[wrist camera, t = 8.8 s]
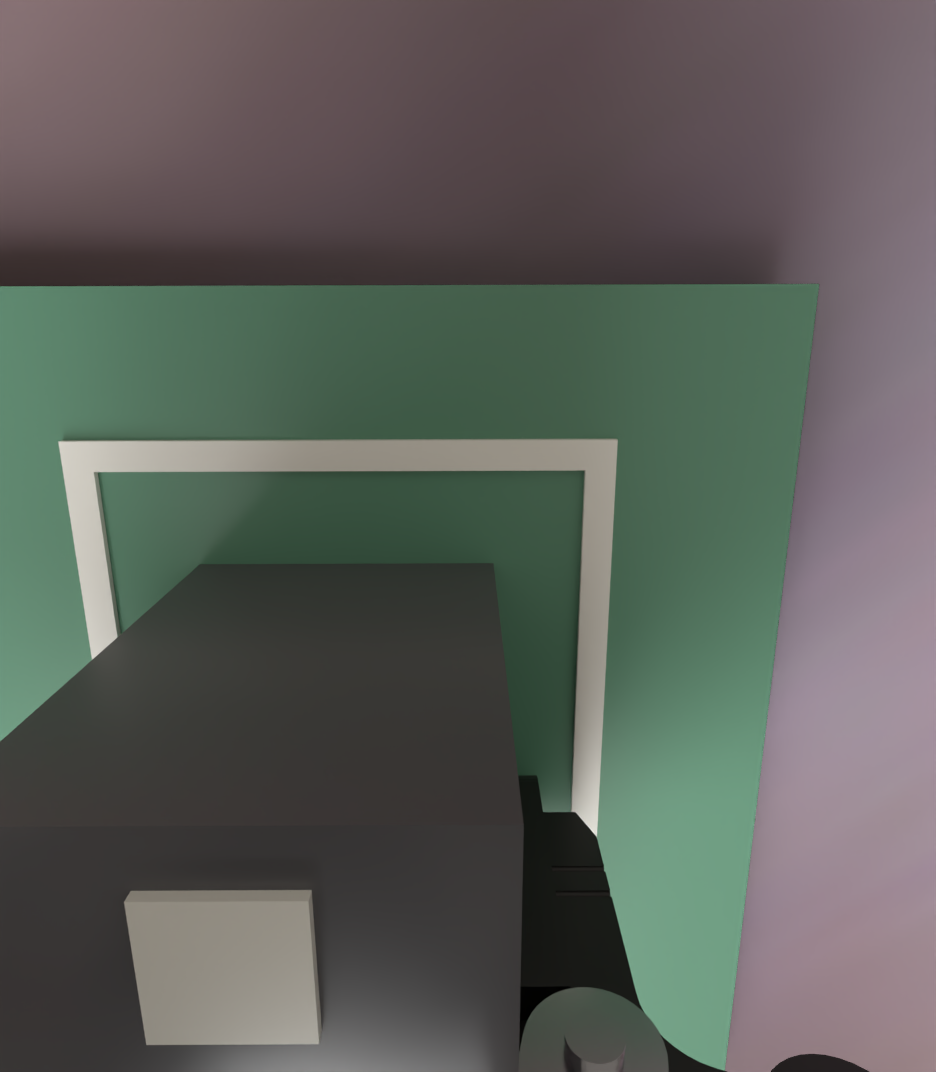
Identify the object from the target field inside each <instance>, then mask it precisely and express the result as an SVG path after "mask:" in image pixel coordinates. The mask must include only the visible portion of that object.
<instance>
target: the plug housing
mask: <svg viewBox="0 0 936 1072" xmlns="http://www.w3.org/2000/svg"><path fill="white" fill-rule="evenodd" d="M523 837H524V822H523V814H522V805H521V797H520V788H519V779H518V771H517V762H516V753H515V745H514V736H513V728H512V719H511V710H510V702H509V693H508V684H507V676H506V667H505V659H504V650H503V641H502V633H501V624H500V616H499V607H498V598H497V590H496V581H495V572H494V564H493V563H410V564H200V565H198V566H197V567H196V568H195V569H194V570H193V571H192V572H191V573H189V574H188V575H187V576H186V577H185V578H184V579H183V580H182V581H180V582H179V583H178V584H177V585H176V586H175V587H174V588H172V589H171V590H170V591H169V592H168V593H167V594H166V595H165V596H163V597H162V598H161V599H160V600H159V601H158V602H157V603H156V604H154V605H153V606H152V607H151V608H150V609H149V610H148V611H147V612H145V613H144V614H143V615H142V616H141V617H140V618H139V619H138V620H136V621H135V622H134V623H133V624H132V625H131V626H130V627H129V628H127V629H126V630H125V631H124V632H123V633H122V634H121V635H120V636H118V637H117V638H116V639H115V640H114V641H113V642H112V643H111V644H109V645H108V646H107V647H106V648H105V649H104V650H103V651H102V652H100V653H99V654H98V655H97V656H96V657H95V658H94V659H93V660H91V661H90V662H89V663H88V664H87V665H86V666H85V667H84V668H82V669H81V670H80V671H79V672H78V673H77V674H76V675H75V676H73V677H72V678H71V679H70V680H69V681H68V682H67V683H66V684H64V685H63V686H62V687H61V688H60V689H59V690H58V691H57V692H55V693H54V694H53V695H52V696H51V697H50V698H49V699H47V700H46V701H45V702H44V703H43V704H42V705H41V706H40V707H38V708H37V709H36V710H35V711H34V712H33V713H32V714H31V715H29V716H28V717H27V718H26V719H25V720H24V721H23V722H22V723H20V724H19V725H18V726H17V727H16V728H15V729H14V730H13V731H11V732H10V733H9V734H8V735H7V736H6V737H5V738H4V739H2V740H1V741H0V1072H519V1033H520V984H521V935H522V886H523Z"/></svg>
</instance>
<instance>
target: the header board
mask: <svg viewBox="0 0 936 1072" xmlns="http://www.w3.org/2000/svg"><path fill="white" fill-rule="evenodd" d="M818 290H819V284H608V285H286V286H0V741H1V740H2V739H4V738H5V737H6V736H7V735H8V734H9V733H10V732H11V731H13V730H14V729H15V728H16V727H17V726H18V725H19V724H20V723H22V722H23V721H24V720H25V719H26V718H27V717H28V716H29V715H31V714H32V713H33V712H34V711H35V710H36V709H37V708H38V707H40V706H41V705H42V704H43V703H44V702H45V701H46V700H47V699H49V698H50V697H51V696H52V695H53V694H54V693H55V692H57V691H58V690H59V689H60V688H61V687H62V686H63V685H64V684H66V683H67V682H68V681H69V680H70V679H71V678H72V677H73V676H75V675H76V674H77V673H78V672H79V671H80V670H81V669H82V668H84V667H85V666H86V665H87V664H88V663H89V662H90V661H91V660H93V659H94V658H95V657H96V656H97V655H98V654H99V653H100V652H102V651H103V650H104V649H105V648H106V647H107V646H108V645H109V644H111V643H112V642H113V641H114V640H115V639H116V638H117V637H118V636H120V635H121V634H122V633H123V632H124V631H125V630H126V629H127V628H129V627H130V626H131V625H132V624H133V623H134V622H135V621H136V620H138V619H139V618H140V617H141V616H142V615H143V614H144V613H145V612H147V611H148V610H149V609H150V608H151V607H152V606H153V605H154V604H156V603H157V602H158V601H159V600H160V599H161V598H162V597H163V596H165V595H166V594H167V593H168V592H169V591H170V590H171V589H172V588H174V587H175V586H176V585H177V584H178V583H179V582H180V581H182V580H183V579H184V578H185V577H186V576H187V575H188V574H189V573H191V572H192V571H193V570H194V569H195V568H196V567H197V566H198V565H200V564H410V563H493V564H494V572H495V581H496V590H497V598H498V607H499V616H500V624H501V633H502V641H503V650H504V659H505V667H506V676H507V684H508V693H509V702H510V710H511V719H512V728H513V736H514V745H515V753H516V762H517V771H518V775H537V778H538V783H539V789H540V796H541V802H542V809H543V812H576V813H577V814H578V816H579V817H580V818H581V819H582V820H583V821H584V823H585V824H586V825H587V826H588V827H589V828H590V830H591V831H592V832H593V833H594V834H595V835H596V837H597V840H598V844H599V848H600V852H601V856H602V860H603V864H604V872H606V876H607V880H608V884H609V888H610V896H611V897H612V899H613V903H614V907H615V911H616V915H617V919H618V923H619V927H620V931H621V935H622V939H623V943H624V947H625V950H626V954H627V958H628V962H629V966H630V970H631V974H632V978H633V982H634V986H635V990H636V994H637V997H638V1000H639V1003H640V1005H641V1007H642V1009H643V1011H644V1013H645V1014H646V1015H647V1016H648V1017H649V1018H650V1020H651V1021H652V1022H653V1023H654V1025H655V1026H656V1028H657V1029H658V1031H659V1033H660V1034H661V1035H662V1036H663V1037H664V1038H665V1039H666V1040H667V1041H668V1042H669V1043H671V1044H672V1045H673V1046H674V1047H675V1048H677V1049H678V1050H680V1051H681V1052H683V1053H684V1054H686V1055H687V1056H689V1057H691V1058H693V1059H695V1060H697V1061H699V1062H701V1063H703V1064H706V1065H709V1066H711V1067H714V1068H717V1069H720V1070H723V1071H725V1064H726V1056H727V1047H728V1039H729V1031H730V1022H731V1014H732V1006H733V997H734V989H735V981H736V972H737V964H738V956H739V947H740V939H741V931H742V922H743V914H744V906H745V897H746V889H747V881H748V872H749V864H750V856H751V848H752V839H753V831H754V823H755V814H756V806H757V798H758V789H759V781H760V773H761V764H762V756H763V748H764V739H765V731H766V723H767V714H768V706H769V698H770V689H771V681H772V673H773V665H774V656H775V648H776V640H777V631H778V623H779V615H780V606H781V598H782V590H783V581H784V573H785V565H786V556H787V548H788V540H789V531H790V523H791V515H792V506H793V498H794V490H795V481H796V473H797V465H798V457H799V448H800V440H801V432H802V423H803V415H804V407H805V398H806V390H807V382H808V373H809V365H810V357H811V348H812V340H813V332H814V323H815V315H816V307H817V298H818Z"/></svg>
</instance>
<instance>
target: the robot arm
mask: <svg viewBox="0 0 936 1072" xmlns="http://www.w3.org/2000/svg"><path fill="white" fill-rule="evenodd" d="M518 779H519V788H520V797H521V805H522V814H523V822H524V837H523V886H522V935H521V984H520V1033H519V1072H727V1071H723V1070H720V1069H717V1068H714V1067H711V1066H709V1065H706V1064H703V1063H701V1062H699V1061H697V1060H695V1059H693V1058H691V1057H689V1056H687V1055H686V1054H684V1053H683V1052H681V1051H680V1050H678V1049H677V1048H675V1047H674V1046H673V1045H672V1044H671V1043H669V1042H668V1041H667V1040H666V1039H665V1038H664V1037H663V1036H662V1035H661V1034H660V1033H659V1031H658V1029H657V1028H656V1026H655V1025H654V1023H653V1022H652V1021H651V1020H650V1018H649V1017H648V1016H647V1015H646V1014H645V1013H644V1011H643V1009H642V1007H641V1005H640V1003H639V1000H638V997H637V994H636V990H635V986H634V982H633V978H632V974H631V970H630V966H629V962H628V958H627V954H626V950H625V947H624V943H623V939H622V935H621V931H620V927H619V923H618V919H617V915H616V911H615V907H614V903H613V899H612V897H611V896H610V888H609V884H608V880H607V876H606V872H604V864H603V860H602V856H601V852H600V848H599V844H598V840H597V837H596V835H595V834H594V833H593V832H592V831H591V830H590V828H589V827H588V826H587V825H586V824H585V823H584V821H583V820H582V819H581V818H580V817H579V816H578V814H577V813H576V812H543V809H542V802H541V796H540V789H539V783H538V778H537V775H518ZM771 1072H869V1071H867V1070H865V1069H863V1068H861V1067H859V1066H857V1065H855V1064H853V1063H851V1062H848V1061H845V1060H842V1059H840V1058H836V1057H831V1056H827V1055H819V1054H805V1055H798V1056H794V1057H790V1058H788V1059H786V1060H784V1061H782V1062H780V1063H779V1064H778V1065H777V1066H776V1067H775V1068H774V1069H772V1071H771Z"/></svg>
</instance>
